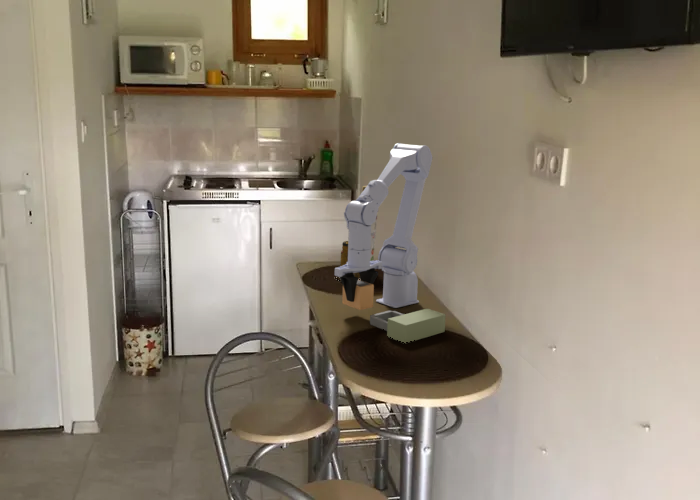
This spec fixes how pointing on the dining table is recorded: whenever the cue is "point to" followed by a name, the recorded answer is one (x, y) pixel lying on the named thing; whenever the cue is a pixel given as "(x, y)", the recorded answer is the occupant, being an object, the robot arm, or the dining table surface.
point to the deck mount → (410, 324)
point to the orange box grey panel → (361, 296)
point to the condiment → (346, 256)
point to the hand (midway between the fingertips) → (357, 299)
